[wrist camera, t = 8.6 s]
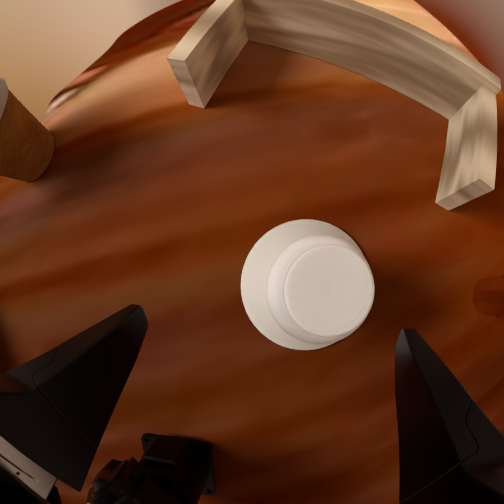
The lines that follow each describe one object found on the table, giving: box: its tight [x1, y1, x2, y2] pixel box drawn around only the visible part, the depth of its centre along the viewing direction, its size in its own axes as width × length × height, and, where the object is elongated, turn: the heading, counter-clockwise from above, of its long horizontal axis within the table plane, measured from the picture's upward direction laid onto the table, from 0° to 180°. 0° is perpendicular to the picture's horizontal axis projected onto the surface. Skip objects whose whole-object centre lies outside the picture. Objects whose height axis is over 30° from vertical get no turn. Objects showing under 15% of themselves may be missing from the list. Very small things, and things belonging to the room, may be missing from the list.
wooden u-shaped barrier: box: [167, 0, 501, 211], centre depth 20 cm, size 12×26×8 cm, turn 66°
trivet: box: [241, 219, 364, 350], centre depth 22 cm, size 10×10×1 cm
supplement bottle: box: [266, 234, 375, 344], centre depth 17 cm, size 6×6×10 cm
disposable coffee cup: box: [0, 77, 55, 182], centre depth 20 cm, size 10×10×12 cm
